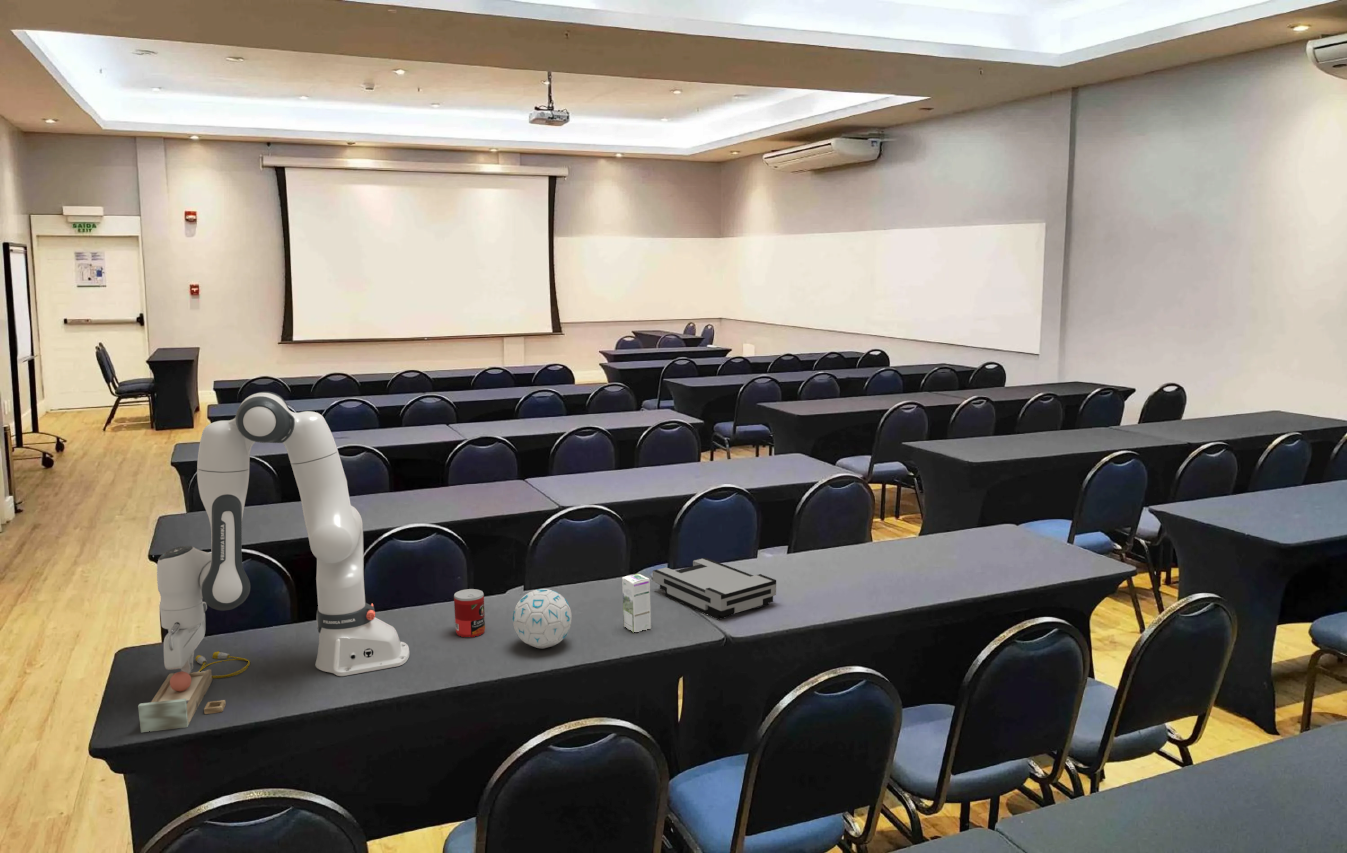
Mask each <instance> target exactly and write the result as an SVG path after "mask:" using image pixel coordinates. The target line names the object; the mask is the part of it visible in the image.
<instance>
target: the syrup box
mask: <svg viewBox="0 0 1347 853" xmlns="http://www.w3.org/2000/svg"><path fill="white" fill-rule="evenodd" d="M621 580H622V584H621V585H622V586H621V588H622V589H621V590H622V617H623V618H622V620H623V621H622V622H623V628H624V627H626V628H627V629H626V628H625V629H626V630H628V631H629V630H631V631H632V632H631V631H630V632H631V633H633V634H635V633H634V632H639V631H642V630H646V631H648V630H647V629H650V630H651V629H652V619H651V617H652V614H651V610H652V608H651V580H650V578H649V577H646V576H644V575H642V574H641V573H633V574H628V575H626V576H622V577H621ZM639 633H640V632H639Z"/></svg>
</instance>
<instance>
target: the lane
mask: <svg viewBox="0 0 1347 853" xmlns="http://www.w3.org/2000/svg"><path fill="white" fill-rule="evenodd" d="M174 674H175V673H174V672H172V673H169V674H168V675H167V677H166V678H165V680H164V681H163V683H162V684H161V686H160V687H159V689H158V691H157V692H156V693H155V695H154V697H153V698H152V700H151V701H150V702H143V703H139V704H138V706H137V708H138V716H139V717H138V718H139V719H138V720H139V726H140V727H139V728H140V733H147V732H149V731H150V732H157V731H166V730H174V729H183V728H185V729H186V728H188V727H189V725H190V723H191V721H192V719H193V717H194V716H195V714H196V712H197V710H198V709H199V706H200V705H201V703H202V701H203V699H204V697H205V696H206V694H207V692H208V690H209V688H210V686H211V684H212V683H213V678H212V676H213V675H212V674H213V673H212V669H210V668H209V669H206V670H201V672H199V671H191V672H190V673H189V675H190V676H191V684H190V686H189V687H188V688H187V689H186V690H184V691H175V690H173V689H172V688H171V686H170V679H171V677H172V676H173V675H174Z"/></svg>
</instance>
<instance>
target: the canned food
mask: <svg viewBox="0 0 1347 853" xmlns="http://www.w3.org/2000/svg"><path fill="white" fill-rule="evenodd" d="M484 596H485V594H484V592H483V590H480V589H474V588H469V589H466V588H465V589H461V590H459V591H456V592H455V593H454V595H453V603H454V604H453V607H454V623H455V625H454V626H455V632H456V634H457V636H458V637H460V636H461V638H465V637H471V638H476V637H475V636H477V637H479V635H480V636H482V635H483V634H484V633H485V631H486V618H485V616H486V615H485V614H486V613H485V597H484ZM481 634H482V635H481Z"/></svg>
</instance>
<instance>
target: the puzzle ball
mask: <svg viewBox="0 0 1347 853" xmlns="http://www.w3.org/2000/svg"><path fill="white" fill-rule="evenodd" d="M572 616H573V615H572V610H571V607H570V605H569V602H568V600H567V599H566V598H565V597H564V596H563V595H562V594H560V593H559V592H558V591H555V590H553V589H552V590H551V589H548V588H538V589H535V590H534V589H533V590H531V591H530V592H527V593H526V594H524V595H523V596H522V597H521V598H520V599H519V601H518V602H517V603H516V605H515V608H514V610H513V614H512V624H513V628H514V629H513V630H514V631H515V632H516V635H517V637H518V638H519V639H520V640H521V642H523V643H525V644H527V645H529V646H531V647H534V648H535V649H536V648H537V649H547V648H550V647H554V646H556V645H557V644H560V643H561V642H562V641H563V640H564V639H565V638H566V637H567V635H568V633H569V631H570V628H571V626H572Z"/></svg>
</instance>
